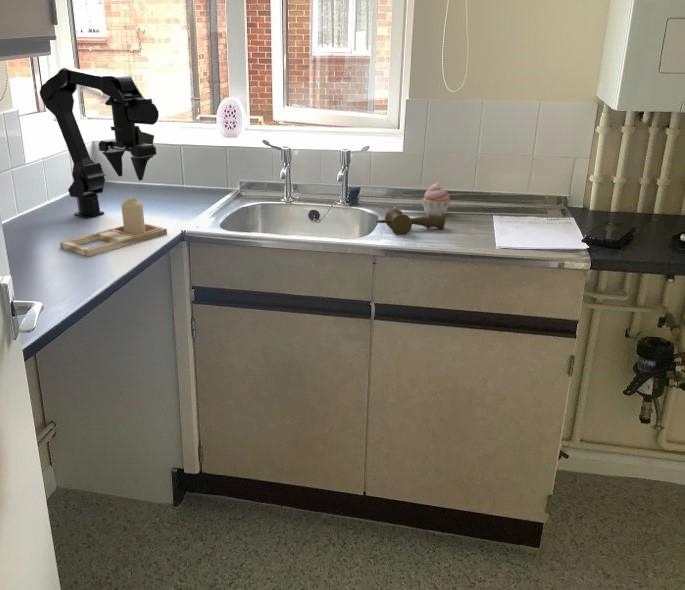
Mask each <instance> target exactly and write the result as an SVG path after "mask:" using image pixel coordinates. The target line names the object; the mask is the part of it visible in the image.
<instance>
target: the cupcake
mask: <svg viewBox="0 0 685 590" xmlns="http://www.w3.org/2000/svg"><path fill="white" fill-rule="evenodd" d="M420 200H421V202H422V205H423V209H424V210H423V211H424V215H426V214H427V213H428V214H430V215H436V214H438V213H440V212H442V213H443V214H444V216H445V217H446V214H447V211H448V208H449V206H450V204H451V202H452V199H450V194H449V193H448V191H447V190H446V188H444V187H442V186H441V185H440V183H439V182H435V183H433V184H432V185H431V186H430V187H429V188H428V189H427V190H426V191H425V192H424V196H423V197H422V198H421V199H420Z"/></svg>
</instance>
